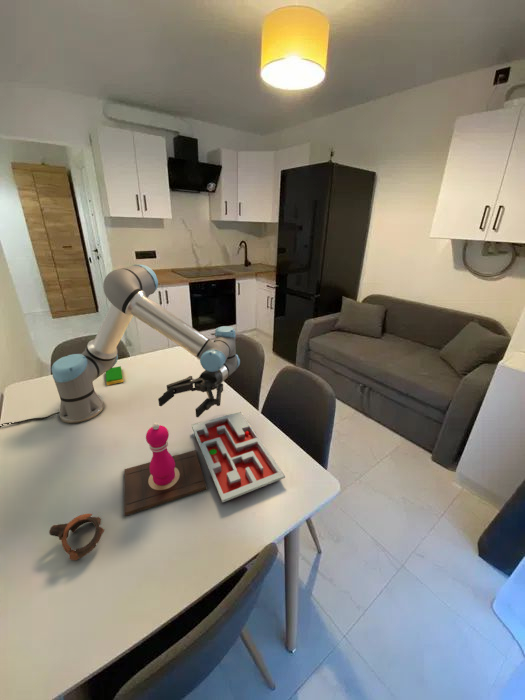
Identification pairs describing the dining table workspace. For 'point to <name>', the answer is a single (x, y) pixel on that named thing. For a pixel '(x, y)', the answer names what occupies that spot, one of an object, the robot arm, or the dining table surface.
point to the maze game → (235, 456)
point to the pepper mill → (160, 455)
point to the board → (149, 494)
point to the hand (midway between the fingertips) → (177, 408)
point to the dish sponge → (114, 376)
